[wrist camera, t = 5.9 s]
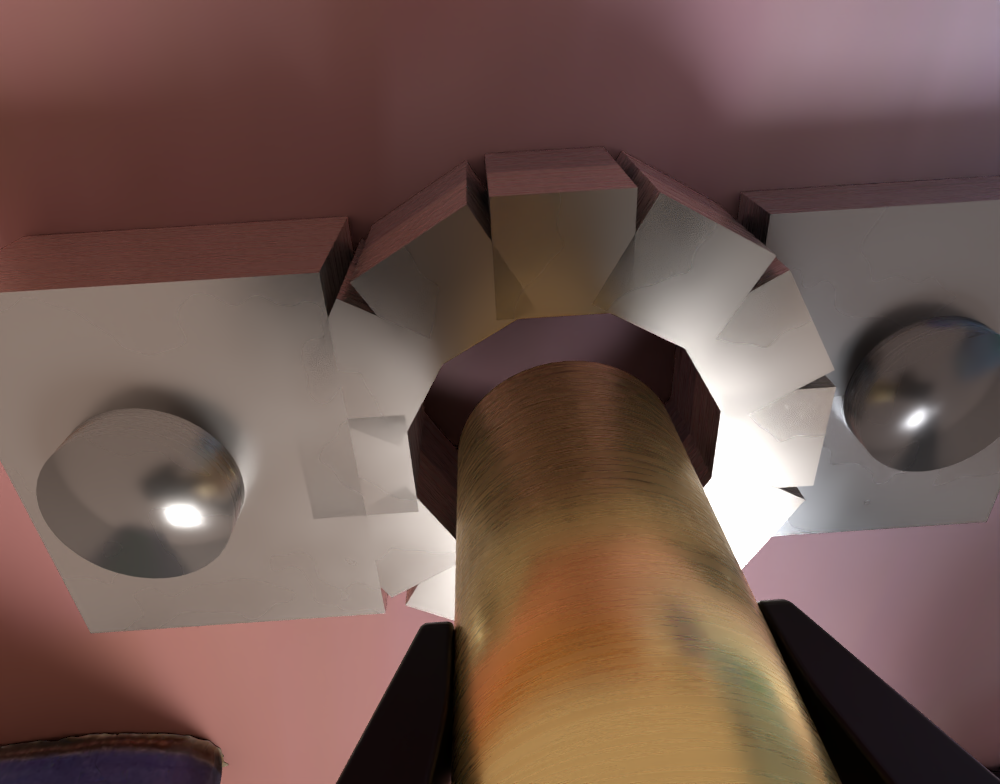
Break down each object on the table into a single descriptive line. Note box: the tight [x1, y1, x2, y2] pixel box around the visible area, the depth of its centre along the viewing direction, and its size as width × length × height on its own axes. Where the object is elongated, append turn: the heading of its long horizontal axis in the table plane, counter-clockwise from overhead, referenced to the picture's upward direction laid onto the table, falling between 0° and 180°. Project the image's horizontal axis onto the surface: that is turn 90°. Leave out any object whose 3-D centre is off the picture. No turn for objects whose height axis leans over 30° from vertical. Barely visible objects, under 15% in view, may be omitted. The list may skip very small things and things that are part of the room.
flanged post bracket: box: [0, 147, 1000, 633], centre depth 14 cm, size 20×10×4 cm, turn 93°
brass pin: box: [451, 361, 842, 784], centre depth 8 cm, size 5×5×10 cm
